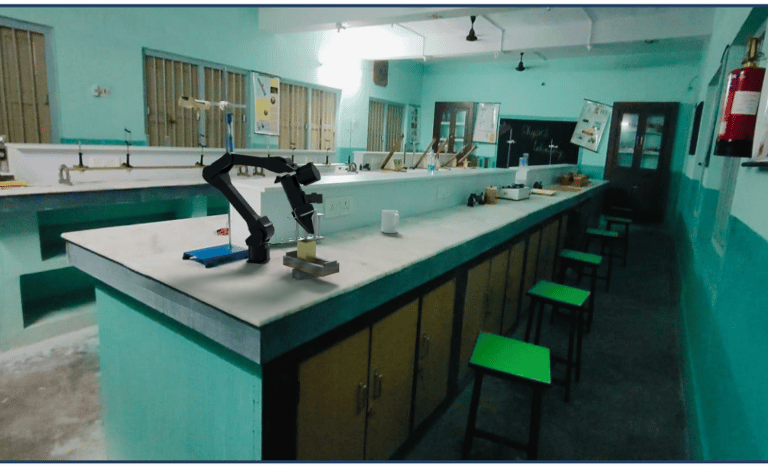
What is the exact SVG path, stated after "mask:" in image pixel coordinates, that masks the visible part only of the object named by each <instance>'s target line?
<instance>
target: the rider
mask: <svg viewBox="0 0 768 467" xmlns="http://www.w3.org/2000/svg"><path fill="white" fill-rule="evenodd" d="M296 243H297V246H296V250H297V259H302V260H304V261H307V262H310V263H316V257H317V252H316V251H317V240H309V239H305V240H300V241H297V242H296Z"/></svg>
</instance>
